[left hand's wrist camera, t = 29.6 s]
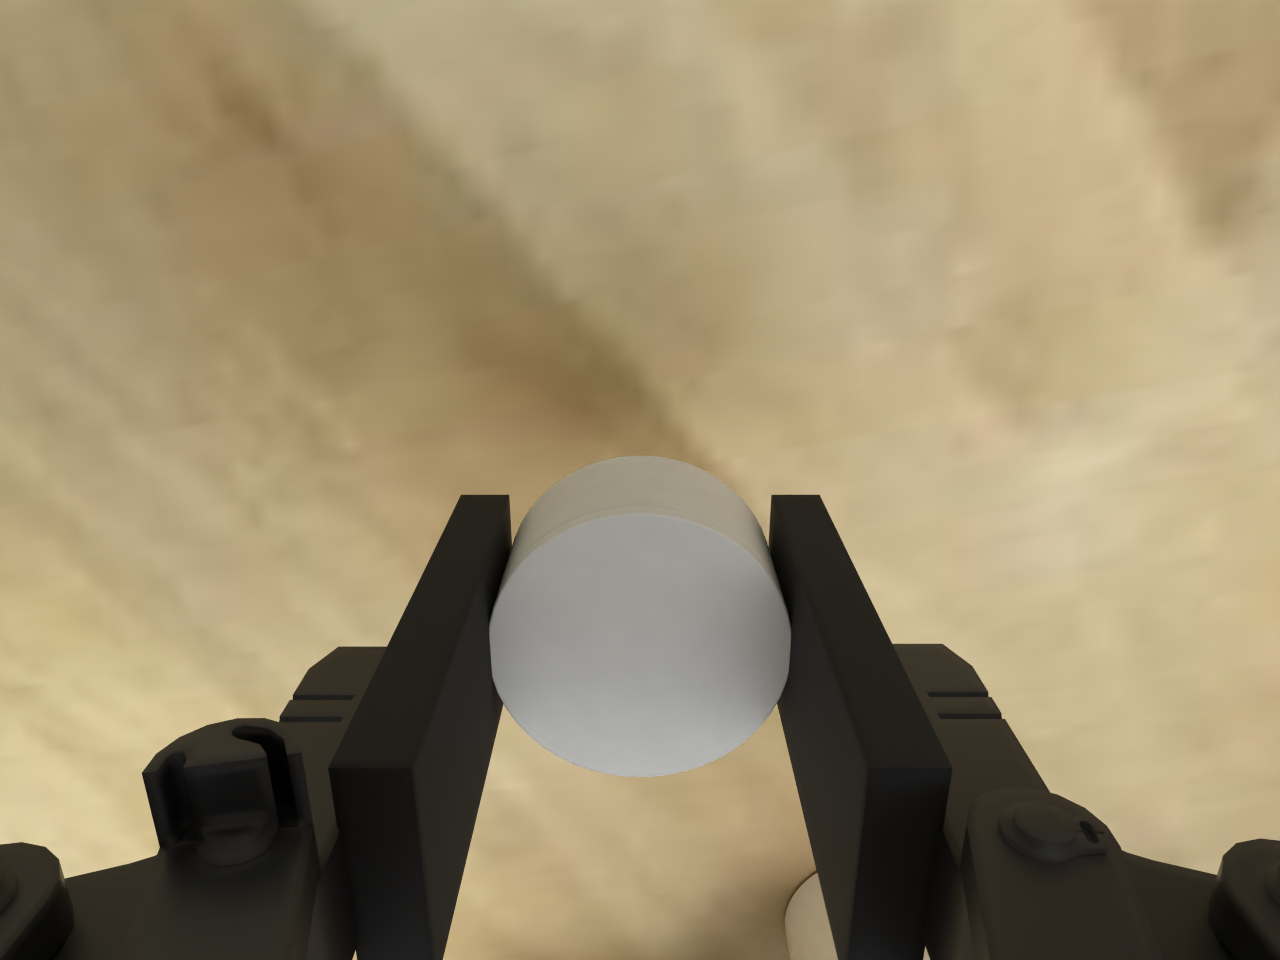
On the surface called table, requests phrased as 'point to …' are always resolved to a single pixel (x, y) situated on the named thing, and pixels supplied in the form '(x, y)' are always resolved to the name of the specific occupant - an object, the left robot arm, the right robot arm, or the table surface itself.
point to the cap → (640, 619)
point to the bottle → (811, 924)
